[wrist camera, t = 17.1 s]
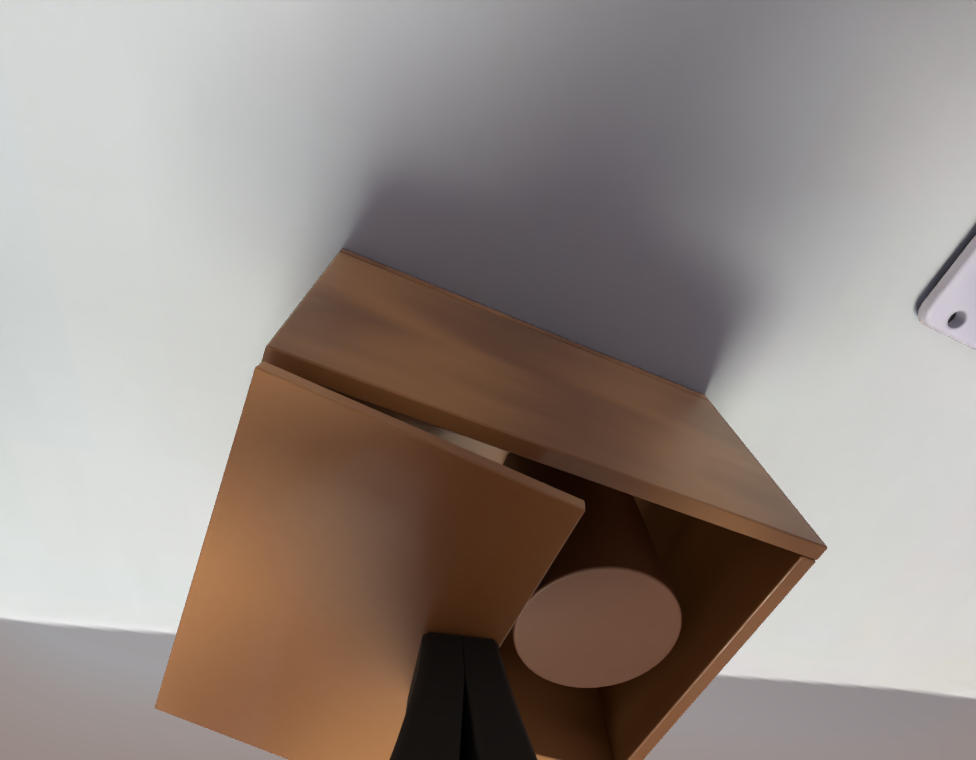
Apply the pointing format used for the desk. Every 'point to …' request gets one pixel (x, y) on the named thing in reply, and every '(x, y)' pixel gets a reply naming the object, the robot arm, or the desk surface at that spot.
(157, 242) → the desk surface
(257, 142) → the desk surface
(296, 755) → the flap
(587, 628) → the brown cylinder
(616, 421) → the brown box
